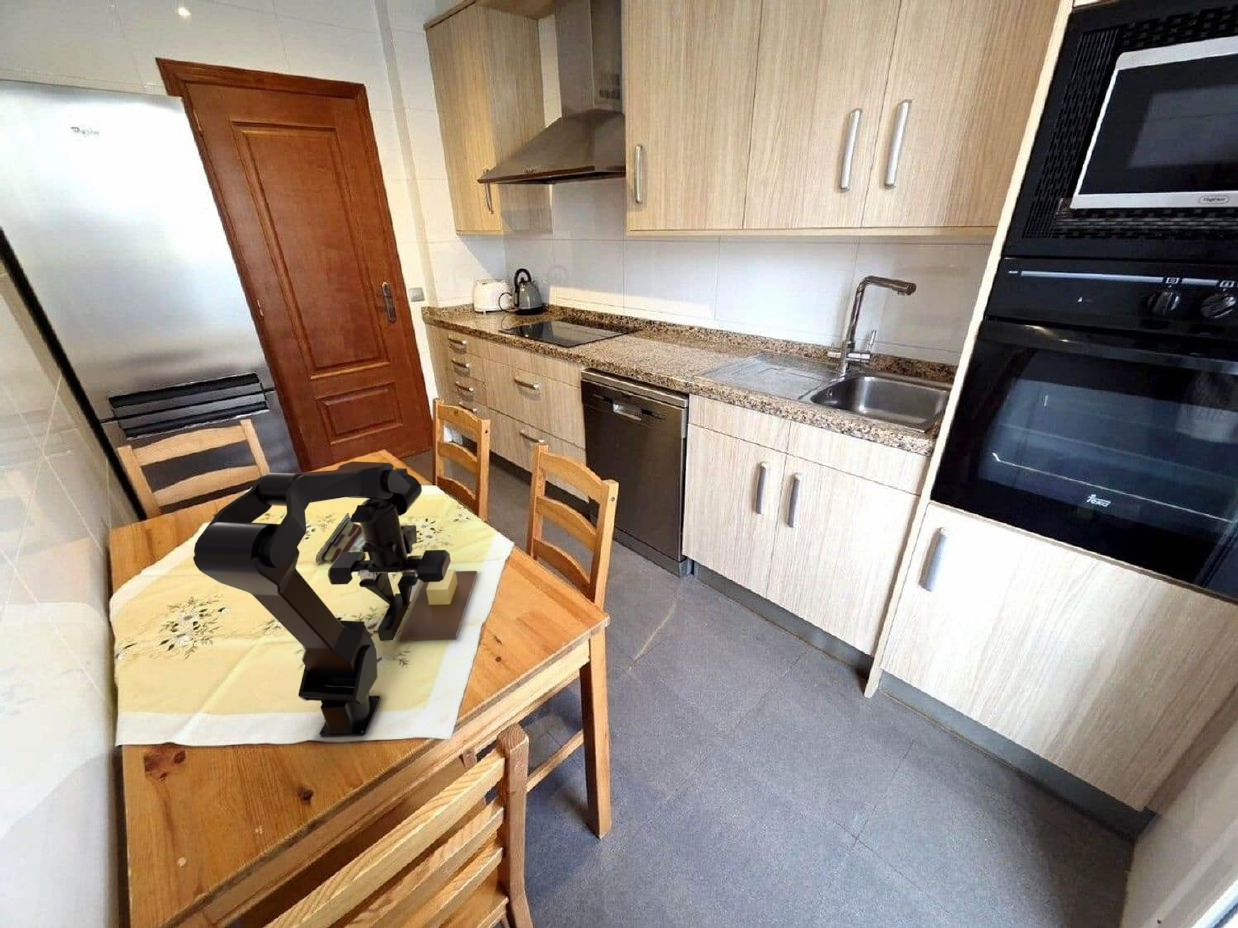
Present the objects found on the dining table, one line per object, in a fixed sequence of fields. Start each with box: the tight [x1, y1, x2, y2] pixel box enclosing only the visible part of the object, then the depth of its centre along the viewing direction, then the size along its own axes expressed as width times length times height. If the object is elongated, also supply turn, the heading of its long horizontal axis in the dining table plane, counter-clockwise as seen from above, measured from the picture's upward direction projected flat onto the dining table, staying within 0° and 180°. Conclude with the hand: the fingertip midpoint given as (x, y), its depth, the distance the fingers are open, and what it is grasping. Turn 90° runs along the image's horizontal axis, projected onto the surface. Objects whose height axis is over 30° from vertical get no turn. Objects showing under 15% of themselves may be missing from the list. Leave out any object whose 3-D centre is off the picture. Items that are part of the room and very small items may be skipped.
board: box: [398, 570, 478, 642], centre depth 97 cm, size 18×10×1 cm, turn 3°
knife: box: [376, 579, 422, 642], centre depth 93 cm, size 21×2×2 cm, turn 3°
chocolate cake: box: [314, 512, 365, 564], centre depth 112 cm, size 10×7×12 cm
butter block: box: [427, 575, 458, 605], centre depth 98 cm, size 6×4×2 cm, turn 3°
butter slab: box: [426, 568, 456, 595], centre depth 97 cm, size 6×4×1 cm, turn 3°
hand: (400, 604), depth 90 cm, fingers closed on knife, 2 cm apart
